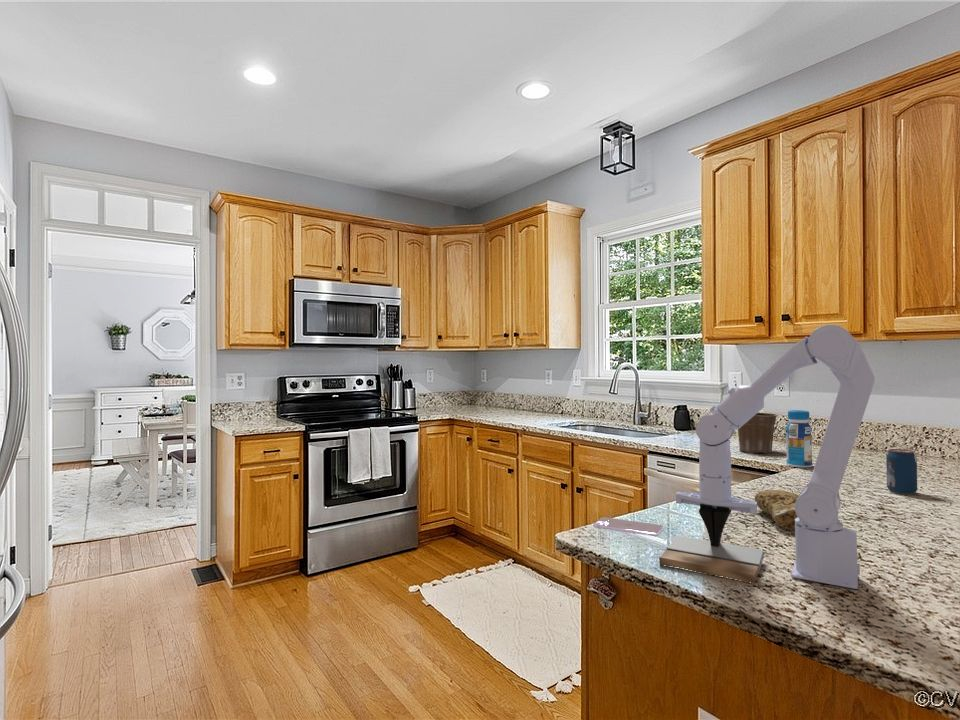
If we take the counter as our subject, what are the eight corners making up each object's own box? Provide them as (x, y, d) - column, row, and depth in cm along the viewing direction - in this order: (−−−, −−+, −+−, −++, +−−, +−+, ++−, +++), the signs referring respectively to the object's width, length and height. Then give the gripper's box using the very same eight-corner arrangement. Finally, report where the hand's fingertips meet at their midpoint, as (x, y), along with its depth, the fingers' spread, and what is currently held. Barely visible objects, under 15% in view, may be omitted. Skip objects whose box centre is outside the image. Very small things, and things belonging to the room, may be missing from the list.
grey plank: (763, 557, 102) (763, 549, 101) (759, 572, 97) (759, 564, 97) (676, 542, 111) (676, 535, 111) (668, 555, 106) (668, 548, 106)
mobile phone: (657, 533, 118) (591, 523, 125) (657, 538, 118) (591, 528, 125) (665, 524, 124) (602, 515, 132) (665, 528, 124) (602, 519, 132)
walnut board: (758, 573, 96) (758, 563, 96) (754, 584, 92) (754, 574, 92) (667, 556, 105) (667, 547, 105) (659, 565, 101) (659, 556, 101)
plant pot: (782, 451, 228) (782, 413, 228) (771, 456, 216) (770, 416, 217) (742, 447, 239) (741, 411, 240) (729, 452, 228) (728, 413, 228)
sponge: (828, 541, 117) (814, 501, 135) (821, 508, 116) (807, 472, 134) (761, 544, 123) (756, 505, 141) (754, 512, 122) (750, 477, 140)
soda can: (921, 492, 154) (920, 450, 154) (912, 496, 150) (911, 453, 150) (892, 488, 159) (891, 447, 160) (882, 491, 156) (882, 450, 156)
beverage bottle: (782, 463, 200) (781, 409, 201) (806, 463, 199) (805, 409, 199) (792, 467, 192) (791, 411, 192) (817, 468, 191) (816, 411, 191)
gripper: (759, 475, 104) (759, 545, 104) (681, 467, 113) (682, 532, 113) (754, 482, 99) (754, 556, 99) (672, 473, 107) (673, 542, 107)
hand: (715, 544), depth 105 cm, fingers closed, pressing on grey plank
